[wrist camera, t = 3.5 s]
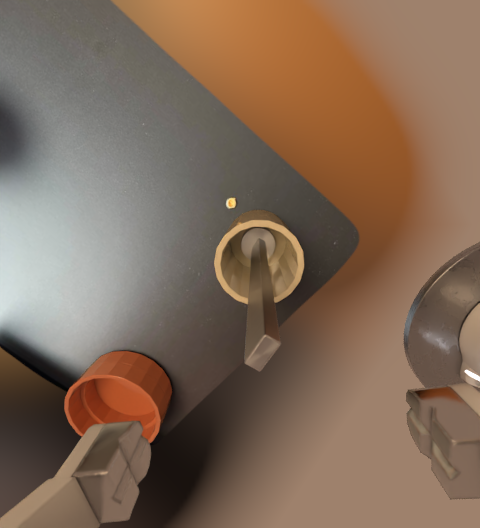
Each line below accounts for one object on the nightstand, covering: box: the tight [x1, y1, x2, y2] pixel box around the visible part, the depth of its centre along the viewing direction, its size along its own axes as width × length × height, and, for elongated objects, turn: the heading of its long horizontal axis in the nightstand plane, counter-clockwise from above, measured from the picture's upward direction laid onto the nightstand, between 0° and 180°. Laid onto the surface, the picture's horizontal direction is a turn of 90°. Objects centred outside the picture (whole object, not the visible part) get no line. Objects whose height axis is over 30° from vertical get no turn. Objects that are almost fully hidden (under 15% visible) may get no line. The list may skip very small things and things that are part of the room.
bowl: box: [65, 351, 172, 443], centre depth 40 cm, size 14×14×6 cm
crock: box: [214, 210, 304, 304], centre depth 29 cm, size 8×8×11 cm
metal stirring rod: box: [241, 227, 281, 371], centre depth 23 cm, size 4×4×24 cm
